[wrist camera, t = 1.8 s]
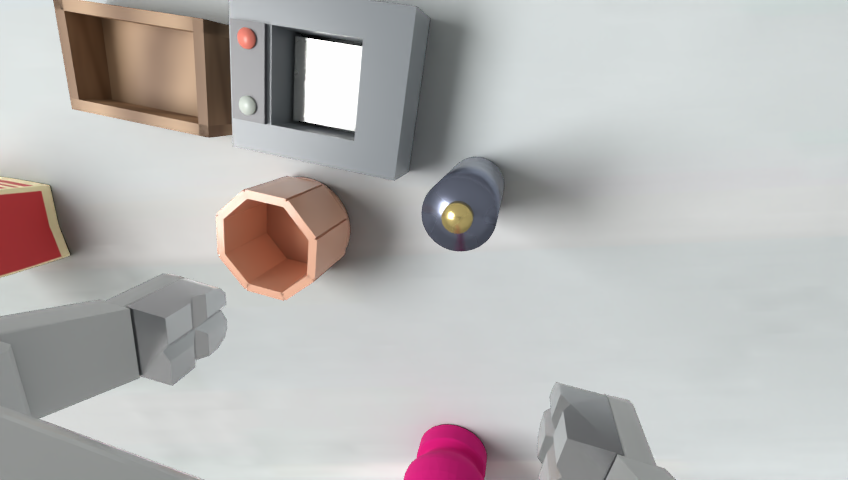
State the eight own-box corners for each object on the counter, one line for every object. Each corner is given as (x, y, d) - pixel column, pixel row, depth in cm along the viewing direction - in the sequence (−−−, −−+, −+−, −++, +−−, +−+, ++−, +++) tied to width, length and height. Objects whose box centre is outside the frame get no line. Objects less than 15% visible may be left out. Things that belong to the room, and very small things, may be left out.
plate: (375, 49, 26) (371, 47, 25) (367, 132, 28) (363, 132, 27) (301, 38, 27) (295, 36, 26) (299, 118, 29) (293, 119, 28)
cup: (354, 187, 30) (319, 205, 25) (346, 276, 33) (313, 309, 28) (264, 168, 31) (213, 181, 26) (264, 255, 34) (218, 283, 29)
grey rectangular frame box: (430, 18, 25) (414, 4, 21) (408, 171, 29) (392, 182, 25) (263, -5, 27) (222, -21, 23) (263, 141, 31) (228, 147, 27)
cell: (510, 162, 27) (504, 189, 19) (497, 217, 28) (486, 262, 20) (453, 152, 27) (425, 173, 20) (443, 206, 29) (413, 245, 21)
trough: (238, 27, 28) (202, 18, 25) (240, 133, 31) (208, 137, 28) (101, 6, 30) (52, -5, 27) (115, 108, 33) (72, 108, 30)
